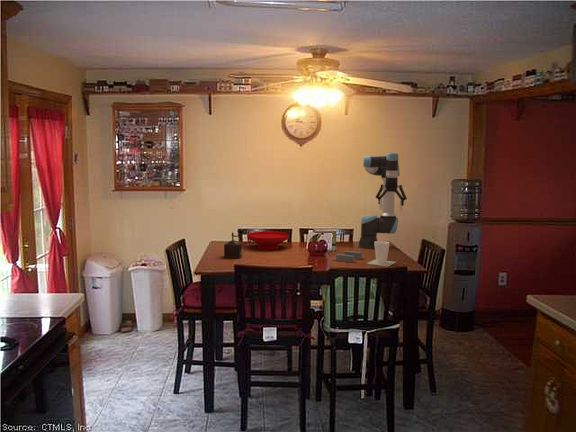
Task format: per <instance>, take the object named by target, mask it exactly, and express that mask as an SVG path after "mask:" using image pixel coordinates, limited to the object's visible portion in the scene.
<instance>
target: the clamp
mask: <svg viewBox="0 0 576 432" xmlns="http://www.w3.org/2000/svg"><path fill="white" fill-rule="evenodd" d="M363 258H364V253H363V252H361V251H351V250H344V254H343V253H336V254H335V257H334V258H332V261H336V262H344V263H352V264H354V263H355V262H356V260H362V259H363ZM363 260H364V259H363Z"/></svg>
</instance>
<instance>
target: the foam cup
mask: <svg viewBox="0 0 576 432" xmlns="http://www.w3.org/2000/svg"><path fill="white" fill-rule="evenodd" d="M374 246H375V248H374V252H375V260H376V263H381V264H384V263H386V262H387V261H388V257H389V256H388V255H389V249H390V242H389V241H387V240H386V241H385V240H380V241H379V240H378V241H375V242H374Z"/></svg>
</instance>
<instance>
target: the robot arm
mask: <svg viewBox="0 0 576 432" xmlns="http://www.w3.org/2000/svg"><path fill="white" fill-rule="evenodd" d="M363 168H364V169H365V171H366V172H367V173H368V174H369V175H373V176H376V177H378V176H379V177H381V180H382V181H383V182H382V183H383V184H380V188H379V190H378V191H377V194H376V195H375V198H376V199H377V200H378V202H377V203H378V205H379V210H382V212H381V214H380V216H379V217H378V215H377V214H376V215H375V214H374V215H366V216H362V217H361V221H360V224H361V227H360V229H361V231H360V238H359V241H358V246H357V247H358V248H361V249H375V246H374V242H375V241H379V240H378V235H377V234H389V235H390V234H396V232H397V230H398V225H399V218H398V217H397V214H396V213H395V204H396V203H395V199H396V196H397V197H398V198H399V212H401V211H402V212H403V206H404V205H405V204H404V203H405V201H406V200H408V198H407V195H406V192H405V191H404V189H403V185H402V184H400V185H398V182H399V180H398V177H400V165H399V153H398V152H396V153H394V152H387V153H386V155H365V156H363ZM398 189H399V190H398ZM395 195H396V196H395Z"/></svg>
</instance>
